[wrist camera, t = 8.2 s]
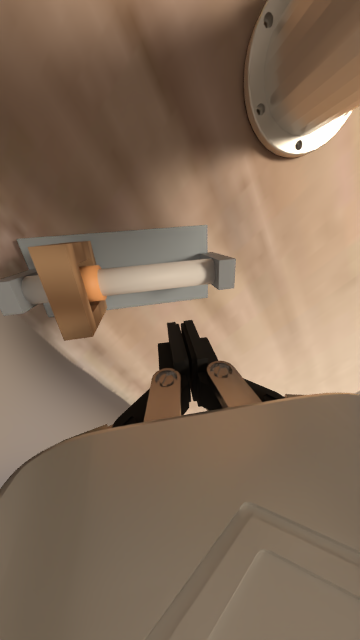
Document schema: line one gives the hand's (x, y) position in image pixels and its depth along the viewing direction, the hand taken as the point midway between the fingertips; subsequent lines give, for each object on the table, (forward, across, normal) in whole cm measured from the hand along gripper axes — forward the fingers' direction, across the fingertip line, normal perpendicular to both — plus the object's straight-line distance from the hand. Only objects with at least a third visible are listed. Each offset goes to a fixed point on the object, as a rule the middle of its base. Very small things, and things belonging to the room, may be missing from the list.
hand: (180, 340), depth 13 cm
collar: (+12, +9, -2) cm, 15 cm away
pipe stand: (+14, +4, -2) cm, 15 cm away
